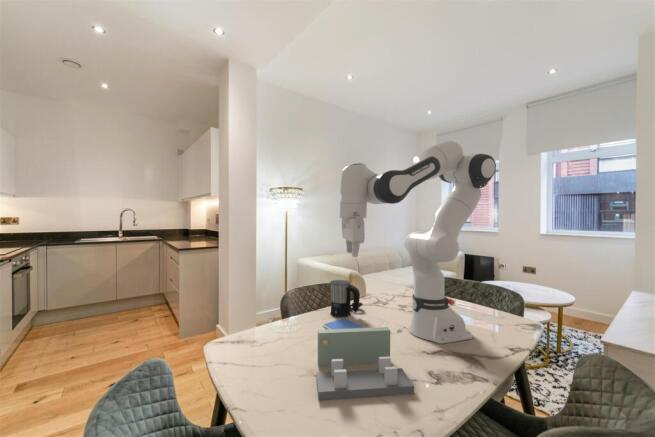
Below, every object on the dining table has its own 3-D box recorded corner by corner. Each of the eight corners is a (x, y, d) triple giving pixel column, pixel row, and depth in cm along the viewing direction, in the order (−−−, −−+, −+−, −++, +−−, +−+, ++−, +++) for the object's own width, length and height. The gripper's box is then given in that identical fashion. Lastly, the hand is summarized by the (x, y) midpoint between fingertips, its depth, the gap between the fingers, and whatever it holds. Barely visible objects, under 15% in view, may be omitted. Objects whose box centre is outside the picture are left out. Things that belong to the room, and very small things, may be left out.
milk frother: (327, 316, 119) (328, 283, 119) (334, 305, 135) (335, 276, 135) (360, 319, 116) (360, 285, 116) (363, 307, 132) (363, 277, 132)
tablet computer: (378, 336, 101) (378, 332, 101) (354, 345, 94) (354, 342, 94) (345, 320, 117) (345, 317, 117) (321, 327, 109) (321, 324, 109)
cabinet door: (387, 358, 84) (387, 327, 84) (391, 365, 80) (392, 332, 80) (317, 362, 82) (317, 329, 82) (318, 369, 78) (318, 335, 78)
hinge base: (401, 375, 75) (401, 353, 75) (414, 393, 67) (414, 370, 67) (316, 380, 73) (316, 358, 73) (318, 400, 65) (318, 375, 65)
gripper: (370, 212, 79) (369, 259, 79) (356, 213, 99) (355, 251, 99) (349, 211, 78) (348, 259, 78) (339, 213, 99) (338, 250, 99)
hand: (352, 254), depth 89 cm, fingers open, 8 cm apart
